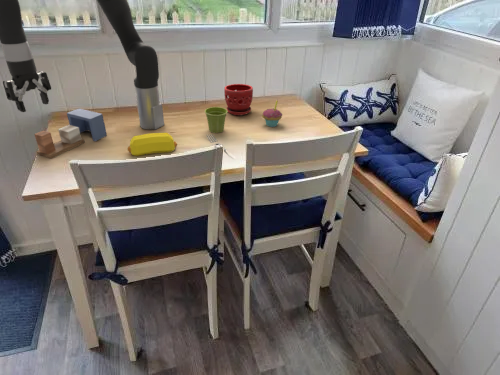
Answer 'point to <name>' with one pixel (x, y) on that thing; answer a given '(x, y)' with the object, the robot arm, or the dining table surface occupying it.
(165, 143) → the hot dog
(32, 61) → the robot arm
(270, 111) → the cupcake
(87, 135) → the dining table surface
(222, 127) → the plant pot
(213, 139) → the fork
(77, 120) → the tunnel
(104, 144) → the dining table surface
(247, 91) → the plant pot
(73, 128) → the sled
